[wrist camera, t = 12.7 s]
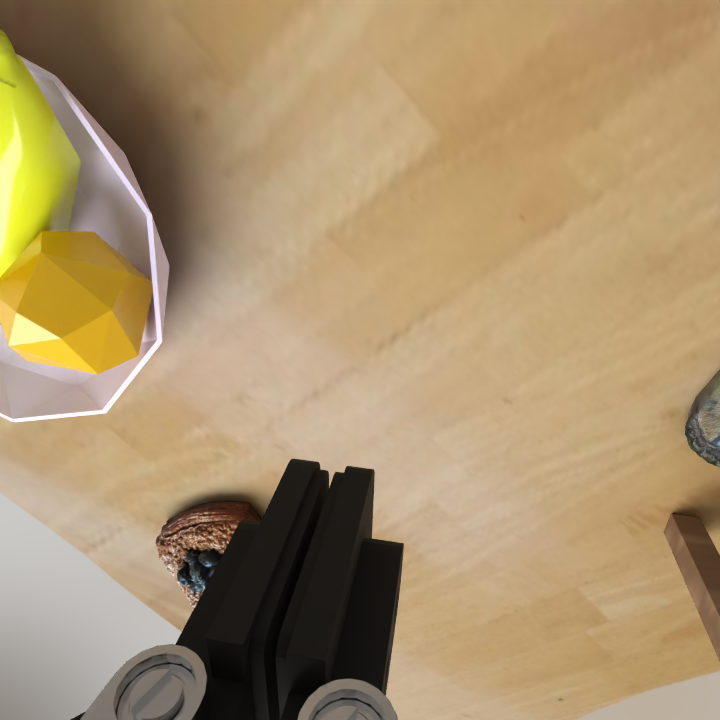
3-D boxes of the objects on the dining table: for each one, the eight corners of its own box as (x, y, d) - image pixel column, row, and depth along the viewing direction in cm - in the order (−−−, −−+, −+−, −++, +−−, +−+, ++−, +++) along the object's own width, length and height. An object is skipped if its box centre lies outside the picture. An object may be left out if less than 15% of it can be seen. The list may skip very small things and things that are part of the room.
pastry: (212, 594, 56) (186, 646, 51) (154, 507, 52) (120, 554, 47) (305, 582, 53) (288, 635, 48) (252, 487, 48) (227, 535, 43)
